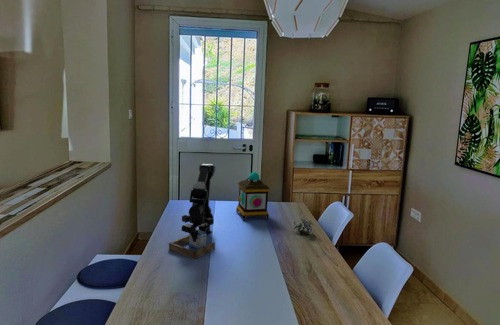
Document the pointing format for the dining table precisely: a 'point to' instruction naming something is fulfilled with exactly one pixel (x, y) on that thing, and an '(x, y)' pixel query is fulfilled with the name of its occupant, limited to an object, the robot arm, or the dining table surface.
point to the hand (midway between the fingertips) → (197, 240)
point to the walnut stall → (192, 254)
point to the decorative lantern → (253, 197)
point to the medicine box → (198, 240)
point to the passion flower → (304, 226)
